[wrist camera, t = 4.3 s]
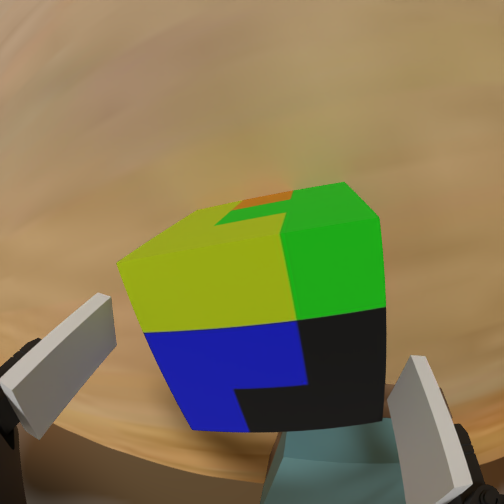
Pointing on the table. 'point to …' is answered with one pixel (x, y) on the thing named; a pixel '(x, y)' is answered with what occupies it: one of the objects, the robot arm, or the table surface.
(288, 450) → the top block
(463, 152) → the table surface
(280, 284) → the puzzle toy
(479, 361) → the table surface
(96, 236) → the table surface
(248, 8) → the table surface
